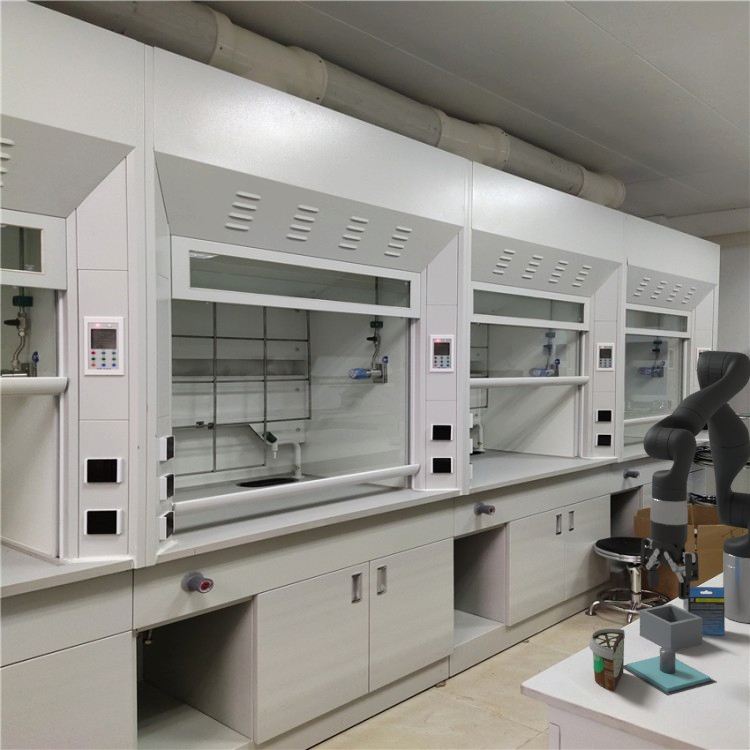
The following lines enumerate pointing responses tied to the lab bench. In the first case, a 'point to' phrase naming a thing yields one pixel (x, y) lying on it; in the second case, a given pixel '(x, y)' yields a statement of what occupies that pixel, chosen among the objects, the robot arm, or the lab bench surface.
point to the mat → (670, 691)
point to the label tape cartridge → (708, 608)
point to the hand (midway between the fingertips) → (667, 592)
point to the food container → (608, 656)
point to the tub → (671, 627)
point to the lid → (668, 671)
